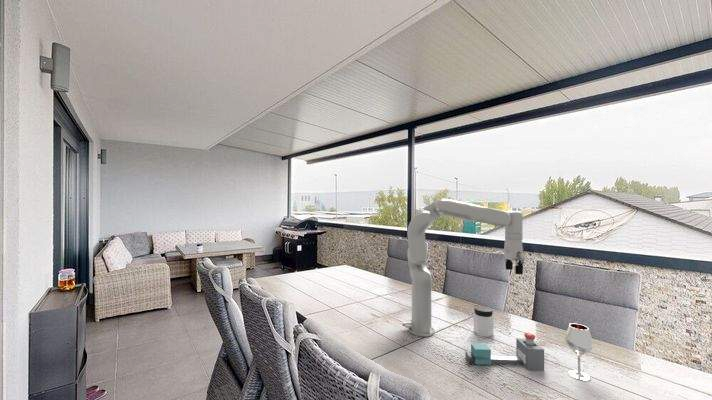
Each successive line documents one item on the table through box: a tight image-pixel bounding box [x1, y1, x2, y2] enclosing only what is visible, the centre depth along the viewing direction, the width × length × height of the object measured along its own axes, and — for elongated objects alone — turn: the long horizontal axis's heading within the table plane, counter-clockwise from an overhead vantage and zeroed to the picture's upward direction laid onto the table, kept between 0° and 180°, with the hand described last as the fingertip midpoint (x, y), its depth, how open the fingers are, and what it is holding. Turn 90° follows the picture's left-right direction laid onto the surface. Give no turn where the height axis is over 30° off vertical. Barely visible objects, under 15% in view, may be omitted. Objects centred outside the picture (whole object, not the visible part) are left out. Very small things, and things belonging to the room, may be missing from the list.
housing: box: [515, 337, 545, 372], centre depth 116 cm, size 6×9×8 cm
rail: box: [464, 350, 524, 366], centre depth 116 cm, size 21×5×3 cm, turn 87°
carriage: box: [470, 342, 492, 366], centre depth 117 cm, size 6×5×6 cm
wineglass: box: [564, 323, 594, 382], centre depth 108 cm, size 8×8×18 cm
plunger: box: [523, 332, 536, 346], centre depth 116 cm, size 4×4×5 cm
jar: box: [473, 305, 495, 338], centre depth 143 cm, size 9×8×12 cm
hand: (513, 271), depth 142 cm, fingers open, 9 cm apart
